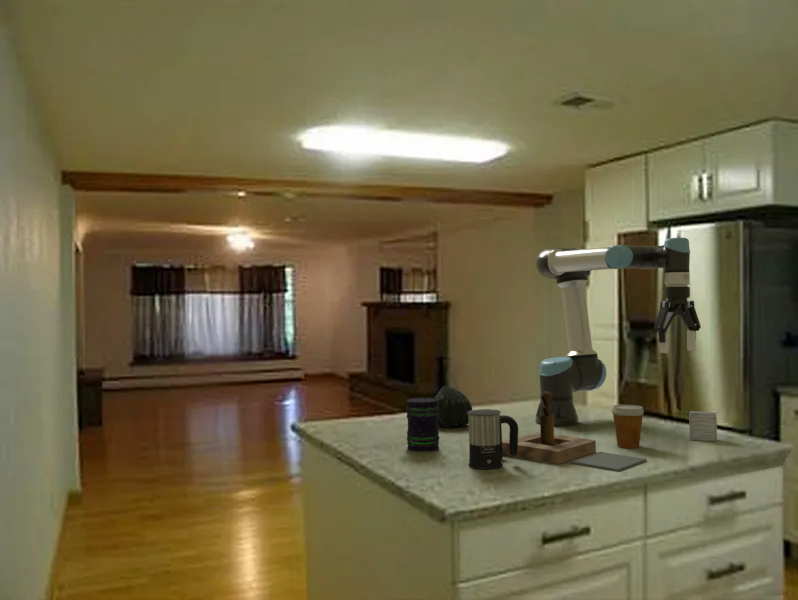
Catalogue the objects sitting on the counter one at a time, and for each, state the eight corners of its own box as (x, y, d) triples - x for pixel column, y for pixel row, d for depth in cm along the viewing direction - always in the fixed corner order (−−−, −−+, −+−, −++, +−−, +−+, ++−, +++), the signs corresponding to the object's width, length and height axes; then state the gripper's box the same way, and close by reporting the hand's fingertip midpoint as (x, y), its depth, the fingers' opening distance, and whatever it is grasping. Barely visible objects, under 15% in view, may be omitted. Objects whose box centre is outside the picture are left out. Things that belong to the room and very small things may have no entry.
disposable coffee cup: (644, 444, 218) (644, 405, 218) (644, 450, 209) (644, 409, 209) (612, 442, 221) (611, 404, 221) (611, 448, 212) (610, 408, 212)
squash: (478, 414, 246) (469, 379, 256) (436, 417, 243) (428, 382, 253) (471, 435, 256) (463, 401, 266) (431, 439, 254) (424, 404, 264)
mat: (570, 463, 194) (570, 461, 194) (600, 453, 205) (600, 451, 205) (618, 471, 184) (618, 469, 184) (646, 460, 195) (646, 458, 195)
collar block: (499, 453, 207) (499, 441, 207) (537, 443, 221) (537, 432, 221) (558, 464, 193) (558, 451, 193) (595, 452, 207) (595, 440, 207)
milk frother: (478, 471, 186) (477, 415, 186) (450, 459, 201) (449, 407, 201) (524, 465, 192) (523, 411, 192) (494, 454, 207) (493, 403, 207)
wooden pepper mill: (557, 450, 210) (556, 390, 210) (560, 455, 203) (559, 393, 204) (534, 450, 211) (534, 390, 211) (537, 455, 204) (536, 393, 204)
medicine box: (717, 439, 223) (716, 412, 223) (717, 442, 219) (716, 414, 219) (690, 437, 226) (689, 410, 226) (689, 440, 222) (688, 412, 222)
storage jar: (433, 452, 210) (432, 402, 210) (402, 451, 213) (401, 401, 213) (443, 446, 219) (442, 398, 219) (413, 444, 223) (412, 397, 223)
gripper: (661, 285, 218) (662, 354, 218) (711, 285, 231) (712, 350, 231) (641, 286, 224) (642, 353, 225) (691, 286, 238) (692, 349, 238)
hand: (677, 352), depth 228 cm, fingers open, 13 cm apart
